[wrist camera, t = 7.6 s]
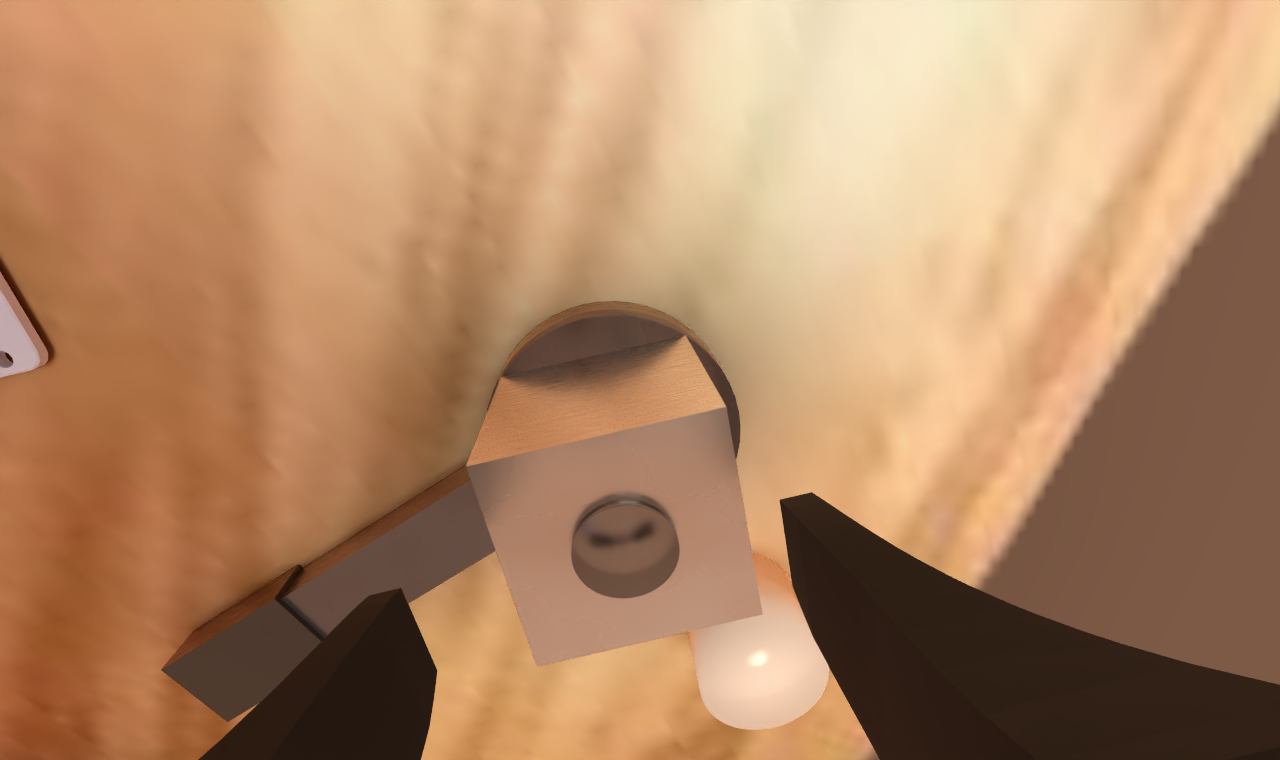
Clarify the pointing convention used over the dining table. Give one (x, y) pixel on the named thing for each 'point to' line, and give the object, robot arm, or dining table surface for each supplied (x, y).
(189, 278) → the dining table surface
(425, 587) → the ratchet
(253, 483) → the dining table surface
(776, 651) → the pale pink cylinder
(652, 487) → the tan square block
